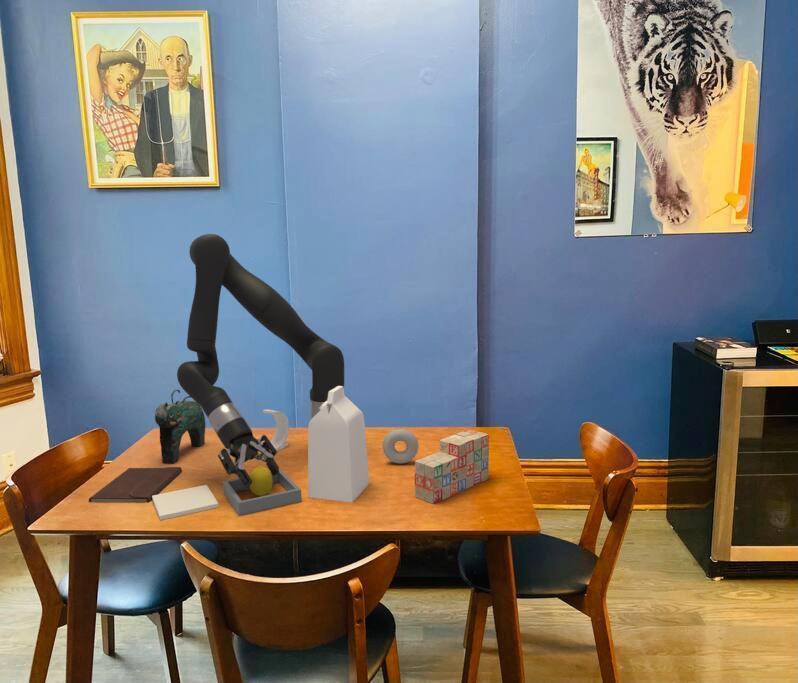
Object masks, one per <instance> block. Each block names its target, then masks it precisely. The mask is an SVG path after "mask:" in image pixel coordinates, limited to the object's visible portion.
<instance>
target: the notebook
mask: <svg viewBox="0 0 798 683" xmlns="http://www.w3.org/2000/svg"><path fill="white" fill-rule="evenodd" d="M181 473H183V469H182V467H181V466H165V467H129V468H128V469H126V470H124V472H122V473H120V474H119V475H118V476H117V477H115V478H114V479H113V480H111V481H110V482H108V484H106V485H105V486H103V487H102V488H101V489H100V490H98V491H97V492H95V493H94V494H92V495H91V496H90V497H89V498H88V503H150V502H151V501H153V500H152V496H153V495H158V494H161V492H162V491H163V490H164V489H165V488H167V486H169V485H170V484H171V483H172V482H173V481H174V480H175V479H176V478H178V477H179V475H180V474H181Z"/></svg>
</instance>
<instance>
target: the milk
mask: <svg viewBox="0 0 798 683" xmlns="http://www.w3.org/2000/svg"><path fill="white" fill-rule="evenodd" d="M344 389H345V387H344V388H343V386H337V387H336V388H334V389H332V390H330V391H329V393H328V399H327V401H326V402H324V403H323V404H322V405H321V406H320V408H319V409H320V411H319V412H318V413H317V414H316V415H315V416H314V417H313V418H312V419H311V418H310V421H309V422H308V426H307V427H308V428H307V429H308V430H307V431H308V432H307V433H308V434H307V435H308V436H307V438H308V439H307V441H308V442H307V447H308V448H307V457H308V458H307V460H308V461H307V462H308V463H307V471H308V472H307V476H308V477H307V487H308V488H307V498H310V499H319V500H327V501H328V500H329V501H337V502H343V503H353V502H355V500H356V499H357V498H358V497H359V496H360V495H361V494H362V492H363V491H364V490H365V489H366V488H367V487H368V486H369V484H370V476H369V475H370V474H369V461H368V450H367V436H366V425H365V416H364V413H363V412H362V410H360V409H359V407H358V406H357V405H355V403H353V402H352V400H350V399H349V398H348V397H347V396H346V394H345V390H344Z"/></svg>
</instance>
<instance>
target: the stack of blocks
mask: <svg viewBox="0 0 798 683" xmlns="http://www.w3.org/2000/svg"><path fill="white" fill-rule="evenodd" d="M489 436H490V434H488V433H485V432H482V431H477V430H473V429H468V430H464V431H459V432H458V433H455V434H452V435H450V436H448V437H444V438H441V439H440V440H439V452H436V453H433V454H430V455H428V456H425V457H422V458H420V459H417V460H415V461H414V497H416V498H418V499H420V500H423V501H426V502H428V503H430V504H436V503H438V502H440V501H443V500H445V499H447V498H450V497H452V496H454V495H456V494H458V493H460V492H462V491H464V490H467V489H469V488H471V487H473V486H475V485H479V484H481V483H482V482H484V481H486V480H489V456H490V445H489V441H490V440H489V439H490V437H489Z"/></svg>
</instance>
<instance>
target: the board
mask: <svg viewBox="0 0 798 683" xmlns="http://www.w3.org/2000/svg"><path fill="white" fill-rule="evenodd" d="M151 501H152V502H153V506H154V507H155V510H156V513H157V515H158V518H159V521H163V520H167V519H172V518H177V517H181V516H182V517H183V516H186V515H190V514H195V513H200V512H204V511H205V512H206V511H209V510H214V509H219V507H220V506H219V502H218V501H217V499H216V497H215V496H214V494H213V493H212V491H211V489H210V488H209V486H208V484H204V485H198V486H193V487H189V488H184V489H179V490H174V491H169V492H163V493H159V494H158V495H153V496H152V500H151Z"/></svg>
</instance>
